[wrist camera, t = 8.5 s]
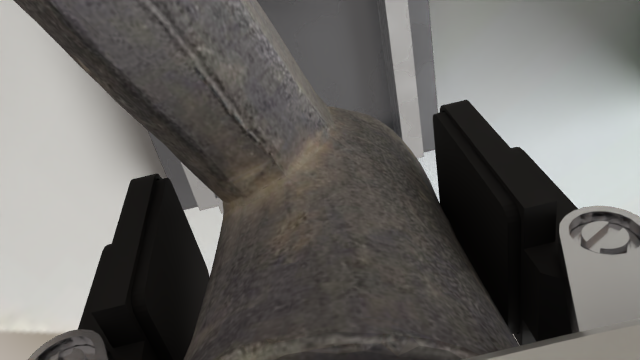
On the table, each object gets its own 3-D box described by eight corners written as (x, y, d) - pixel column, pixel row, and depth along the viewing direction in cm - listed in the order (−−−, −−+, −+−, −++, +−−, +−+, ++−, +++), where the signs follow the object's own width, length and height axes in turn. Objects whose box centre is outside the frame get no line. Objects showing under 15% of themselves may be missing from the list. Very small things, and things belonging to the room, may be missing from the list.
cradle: (23, -192, 21) (-7, -196, 19) (396, -278, 21) (420, -295, 19) (182, 198, 32) (178, 232, 29) (434, 138, 32) (453, 166, 29)
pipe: (208, -244, 9) (31, -384, 3) (491, 230, 16) (645, 534, 9) (-31, -39, 11) (-510, 186, 4) (314, 317, 17) (334, 630, 11)
